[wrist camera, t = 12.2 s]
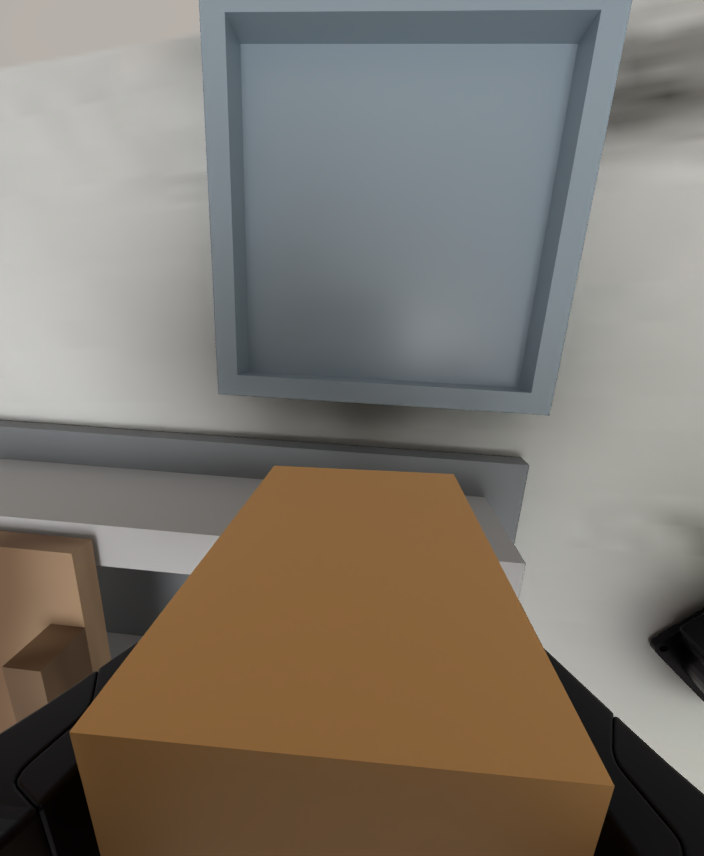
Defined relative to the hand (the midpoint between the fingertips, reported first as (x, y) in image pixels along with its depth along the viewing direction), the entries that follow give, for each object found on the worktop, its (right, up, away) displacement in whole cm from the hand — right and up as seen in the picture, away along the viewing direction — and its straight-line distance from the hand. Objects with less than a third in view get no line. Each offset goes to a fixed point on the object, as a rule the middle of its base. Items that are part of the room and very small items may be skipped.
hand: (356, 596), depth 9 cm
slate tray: (+2, +14, +9) cm, 16 cm away
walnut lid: (-15, -7, +8) cm, 18 cm away
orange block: (0, 0, +2) cm, 2 cm away
